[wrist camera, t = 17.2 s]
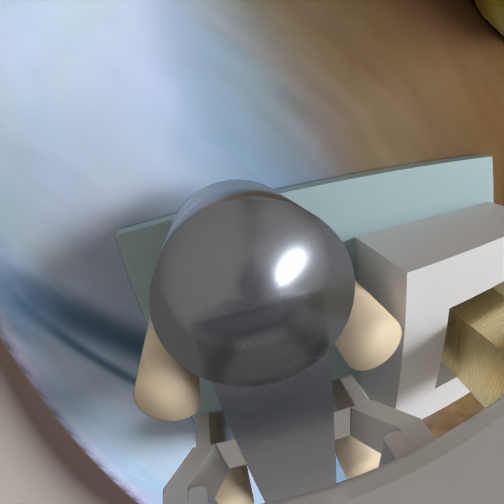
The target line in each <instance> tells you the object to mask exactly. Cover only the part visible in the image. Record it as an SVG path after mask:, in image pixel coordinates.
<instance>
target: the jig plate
mask: <svg viewBox="0 0 504 504" xmlns="http://www.w3.org/2000/svg"><path fill="white" fill-rule="evenodd" d="M275 191H276V192H278V193H280V194H281V195H283V196H285V197H286V198H288V199H290V200H291V201H293V202H295V203H296V204H298V205H300V206H301V207H303V208H304V209H306V210H308V211H309V212H311V213H312V214H314V215H316V216H317V217H319V218H320V219H321V220H322V221H324V222H325V223H326V224H327V225H329V226H330V227H331V229H332V230H333V231H334V232H335V233H336V234H337V235H338V237H339V238H340V240H341V241H342V243H343V244H344V246H345V248H346V250H347V252H348V254H349V256H350V259H351V263H352V266H353V270H354V277H355V295H354V302H353V306H352V310H351V314H350V316H349V319H348V321H347V324H346V326H345V328H344V329H343V331H342V333H341V335H340V336H339V338H338V339H337V341H336V342H335V343H334V345H333V346H332V347H331V348H330V349H329V356H330V368H331V380H334V379H337V378H340V377H343V376H345V375H348V374H351V375H352V376H353V377H354V379H355V380H356V382H357V383H358V385H359V387H360V388H361V390H362V391H363V393H364V394H365V396H366V398H367V399H368V400H371V399H372V400H375V401H377V402H380V403H382V404H385V405H387V406H390V407H392V408H395V409H397V410H400V411H402V412H405V413H408V414H410V415H413V416H416V417H418V418H421V419H423V418H425V417H427V416H429V415H431V414H433V413H435V412H436V411H438V410H440V409H442V408H444V407H445V406H447V405H449V404H451V403H452V402H454V401H456V400H458V399H459V398H461V397H463V396H464V395H466V394H467V393H469V392H470V391H469V390H468V389H467V388H466V387H465V386H464V385H463V383H462V382H461V381H460V380H459V379H458V378H457V377H456V376H455V375H454V374H453V373H452V372H451V371H450V370H449V369H448V368H447V367H446V366H445V365H444V364H443V363H442V361H441V358H442V353H443V347H444V342H445V336H446V330H447V323H448V316H449V308H451V307H453V306H456V305H458V304H460V303H462V302H464V301H466V300H468V299H470V298H472V297H474V296H476V295H478V294H480V293H482V292H484V291H486V290H488V289H490V288H493V289H495V290H497V291H498V292H500V293H501V294H503V295H504V206H501V205H498V204H495V203H493V163H492V156H487V155H481V154H478V155H470V156H462V157H455V158H448V159H440V160H434V161H427V162H420V163H414V164H407V165H401V166H395V167H389V168H383V169H377V170H372V171H366V172H360V173H355V174H350V175H344V176H339V177H334V178H329V179H324V180H319V181H314V182H309V183H304V184H299V185H294V186H290V187H285V188H280V189H276V190H275ZM176 214H177V213H176ZM176 214H172V215H169V216H165V217H161V218H157V219H154V220H150V221H147V222H143V223H139V224H136V225H132V226H129V227H125V228H122V229H120V230H119V231H118V232H117V233H116V234H115V235H114V236H115V240H116V243H117V246H118V249H119V251H120V254H121V257H122V260H123V263H124V266H125V269H126V271H127V274H128V277H129V280H130V282H131V285H132V288H133V290H134V293H135V295H136V298H137V301H138V303H139V306H140V308H141V311H142V313H143V316H144V318H145V320H146V323H147V325H148V328H147V333H146V337H145V341H144V346H143V350H142V355H141V359H140V364H139V369H138V373H137V378H136V383H135V388H134V394H133V396H134V401H135V403H136V405H137V406H138V408H139V409H140V410H141V411H142V412H144V413H145V414H146V415H148V416H150V417H152V418H155V419H158V420H162V421H180V420H184V419H187V418H189V417H191V418H192V420H193V422H194V423H195V425H196V422H195V418H196V415H197V414H204V413H209V412H214V411H220V410H222V407H221V405H220V403H219V400H218V398H217V395H216V393H215V390H214V388H213V385H212V383H211V381H208V380H205V379H203V378H201V377H199V376H197V375H195V374H193V373H191V372H190V371H188V370H187V369H185V368H184V367H182V366H181V365H180V364H179V363H178V362H176V361H175V360H174V359H173V358H172V357H171V356H170V354H169V353H168V352H167V351H166V350H165V348H164V347H163V345H162V344H161V342H160V340H159V338H158V336H157V334H156V332H155V330H154V327H153V324H152V321H151V316H150V310H149V291H150V283H151V279H152V276H153V272H154V269H155V266H156V263H157V261H158V258H159V255H160V252H161V250H162V247H163V244H164V242H165V239H166V236H167V234H168V231H169V229H170V226H171V223H172V221H173V219H174V217H175V215H176ZM335 454H336V456H337V458H338V460H339V463H340V465H341V467H342V470H343V472H344V474H345V476H346V477H347V478H353V477H355V476H358V475H360V474H363V473H366V472H368V471H370V470H373V469H375V468H377V467H378V466H379V462H380V457H381V453H379V452H377V451H375V450H374V449H372V448H370V447H369V446H367V445H365V444H363V443H362V442H360V441H358V440H357V439H355V438H354V437H352V436H351V435H349V436H346V437H343V438H340V439H337V440H335ZM228 469H229V471H228V473H227V475H226V477H225V479H224V481H223V483H222V485H221V487H220V489H219V491H218V493H217V495H216V497H215V500H216V501H217V502H218V503H219V504H253V503H254V499H253V494H252V489H251V484H250V479H249V474H248V468H247V465H242V466H238V467H233V468H228Z"/></svg>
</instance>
